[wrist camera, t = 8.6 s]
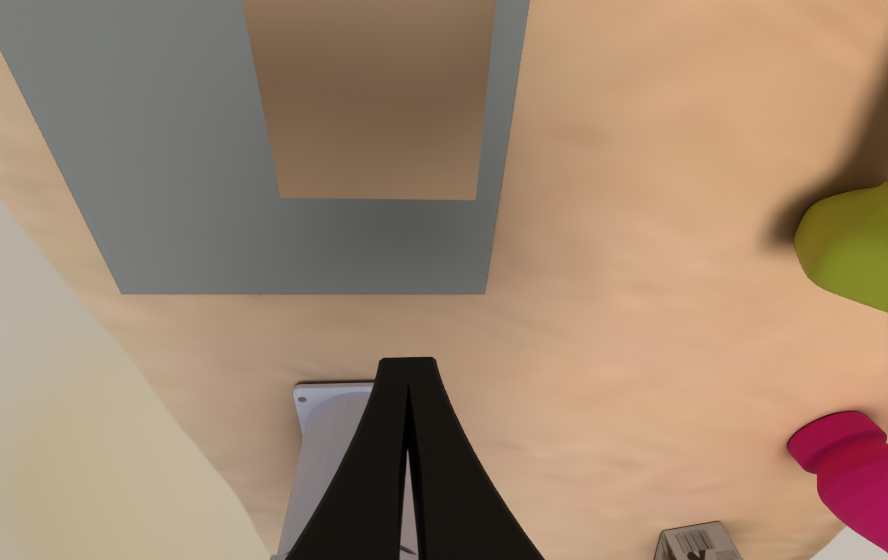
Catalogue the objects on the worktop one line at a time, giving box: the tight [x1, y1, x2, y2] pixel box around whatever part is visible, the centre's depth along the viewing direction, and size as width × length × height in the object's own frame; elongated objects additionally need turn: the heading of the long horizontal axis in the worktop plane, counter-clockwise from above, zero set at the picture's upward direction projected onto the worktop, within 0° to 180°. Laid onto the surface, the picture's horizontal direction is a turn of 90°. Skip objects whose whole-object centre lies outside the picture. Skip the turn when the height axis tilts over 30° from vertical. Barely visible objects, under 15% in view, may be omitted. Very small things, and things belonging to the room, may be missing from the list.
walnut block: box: [242, 0, 496, 200], centre depth 10 cm, size 4×4×4 cm
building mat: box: [0, 0, 530, 294], centre depth 16 cm, size 15×18×1 cm
